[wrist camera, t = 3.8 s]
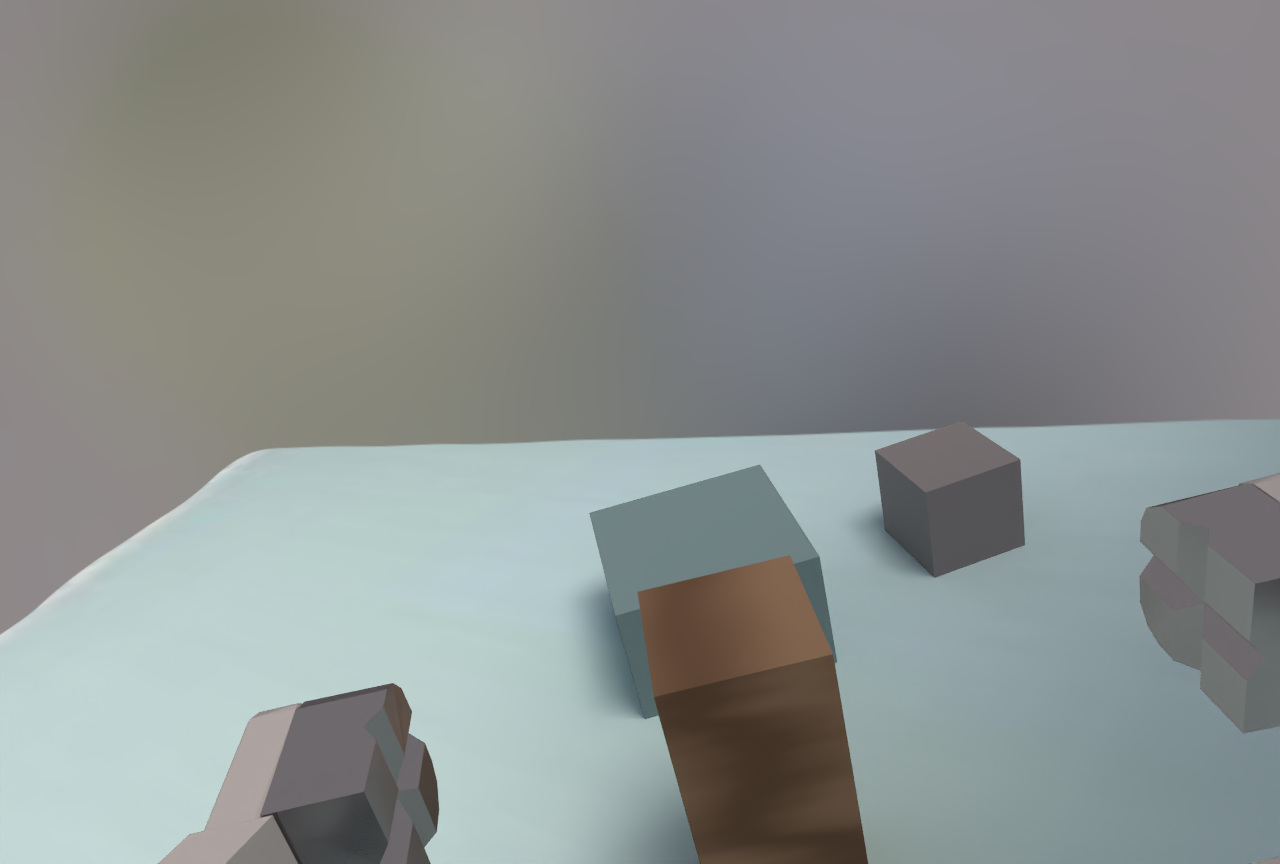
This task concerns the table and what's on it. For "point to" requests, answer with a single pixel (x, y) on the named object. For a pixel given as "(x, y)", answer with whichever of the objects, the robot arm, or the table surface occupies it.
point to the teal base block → (697, 549)
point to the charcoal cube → (951, 497)
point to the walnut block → (753, 717)
